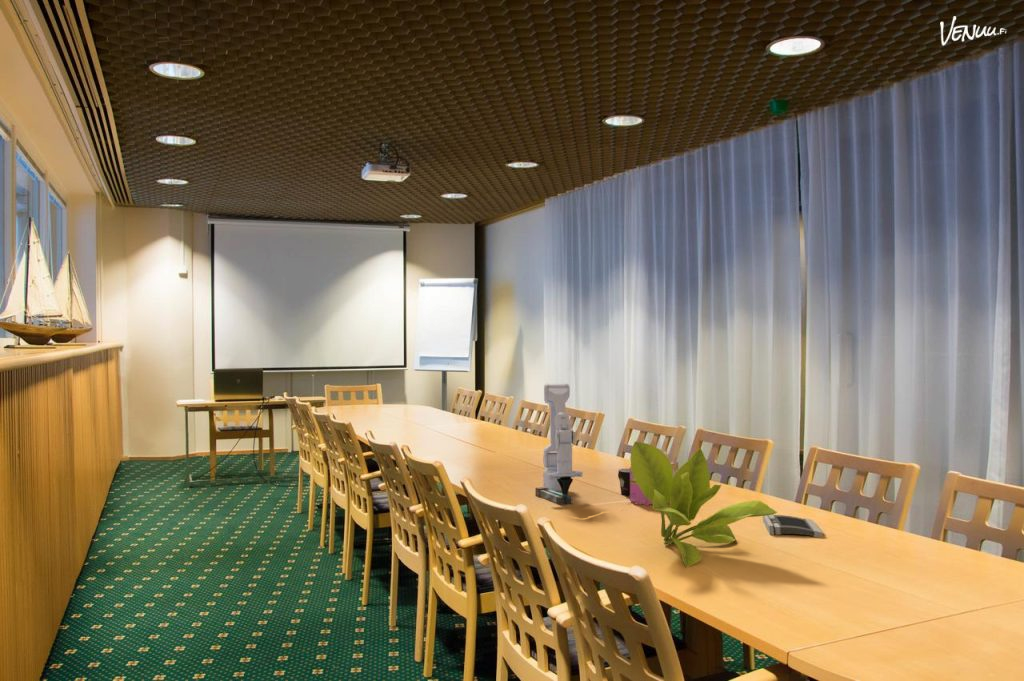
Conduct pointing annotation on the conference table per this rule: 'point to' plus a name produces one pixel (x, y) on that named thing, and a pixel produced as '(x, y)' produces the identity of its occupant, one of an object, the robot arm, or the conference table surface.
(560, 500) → the tongs base
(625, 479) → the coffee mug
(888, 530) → the conference table surface
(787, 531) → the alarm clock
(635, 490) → the gum box
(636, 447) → the artificial plant
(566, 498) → the bar
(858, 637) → the conference table surface
